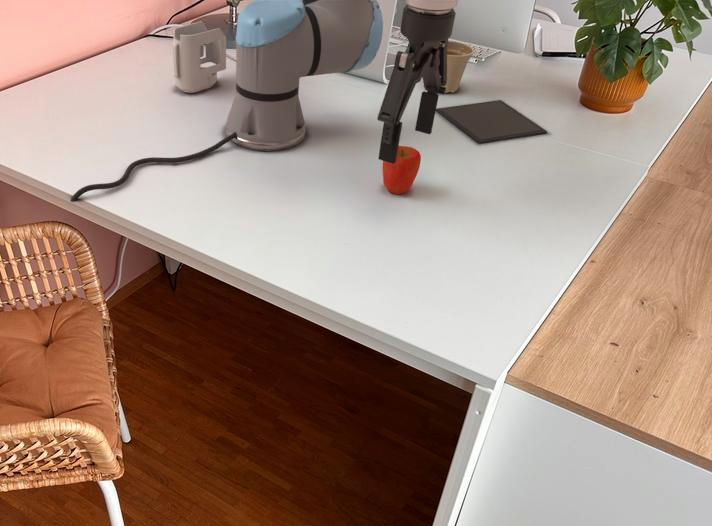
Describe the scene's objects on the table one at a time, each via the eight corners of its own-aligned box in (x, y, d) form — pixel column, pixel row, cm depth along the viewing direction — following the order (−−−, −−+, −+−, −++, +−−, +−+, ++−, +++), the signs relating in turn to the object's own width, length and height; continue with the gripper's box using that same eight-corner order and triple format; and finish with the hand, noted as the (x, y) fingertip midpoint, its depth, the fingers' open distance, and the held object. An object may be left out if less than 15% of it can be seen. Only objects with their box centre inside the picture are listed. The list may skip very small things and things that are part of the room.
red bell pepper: (402, 178, 125) (409, 138, 120) (421, 194, 121) (430, 154, 116) (371, 184, 123) (377, 144, 118) (390, 201, 119) (397, 160, 114)
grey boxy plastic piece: (228, 83, 154) (228, 25, 146) (185, 98, 148) (183, 38, 140) (208, 74, 158) (207, 17, 149) (165, 88, 151) (161, 29, 143)
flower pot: (462, 81, 159) (471, 41, 153) (467, 98, 152) (477, 57, 146) (420, 78, 160) (427, 38, 154) (423, 95, 153) (431, 54, 147)
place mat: (478, 143, 136) (479, 141, 136) (435, 110, 147) (436, 108, 147) (547, 133, 140) (547, 131, 140) (500, 101, 151) (500, 99, 151)
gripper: (417, 33, 93) (392, 181, 107) (486, -7, 108) (456, 126, 122) (366, 22, 96) (348, 167, 110) (441, -16, 111) (417, 115, 125)
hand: (405, 145), depth 116 cm, fingers open, 13 cm apart
